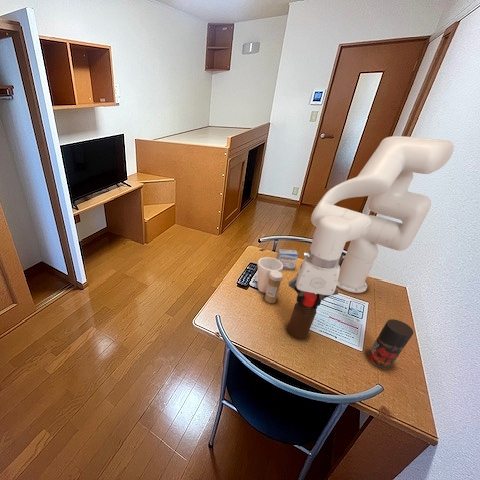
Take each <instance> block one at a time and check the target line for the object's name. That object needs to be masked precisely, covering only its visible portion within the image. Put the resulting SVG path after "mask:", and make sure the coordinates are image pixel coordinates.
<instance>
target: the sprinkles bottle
mask: <svg viewBox="0 0 480 480" xmlns="http://www.w3.org/2000/svg"><path fill="white" fill-rule="evenodd" d="M282 279H283V273H282V272H279V271H271V272H270V274H269V281H268V285H267V289H266V293H264V298H263V299H264V301H266V302H267V303H270V304H275V303H276V302H277V297H278V294H279V290H280V286H281V282H282Z"/></svg>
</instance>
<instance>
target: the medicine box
mask: <svg viewBox="0 0 480 480" xmlns="http://www.w3.org/2000/svg"><path fill="white" fill-rule="evenodd" d="M298 257H299V253H298V251H297V250H296V249H288V248H286V249H285V248H278V249H277V253H276V257H275V259H277V260H279V261H280V262H281V263H282V264H283V269H282V270H295V268H296V265H297V261H298V259H299V258H298Z"/></svg>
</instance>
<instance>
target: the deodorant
mask: <svg viewBox="0 0 480 480" xmlns="http://www.w3.org/2000/svg"><path fill="white" fill-rule="evenodd" d="M413 335H414V330H413V328H412V327H411V326H410V325H408V324H407V323H406V322H403V321H401V320H400V319H399V320H398V319H394V318H393V319H388V320H386V321H385V324H384V326H383V327H382V329H381V331H380V332H379V334H378V336H377V338H376V340H375V341H374V343H373V344H372V346H371V347H370V349H369V351H368V353H367V359H368V361H370V363H371V364H372V365H373V366H375V367H378V368H380V369H383V370H388V369H390V368H391V367H392V366H393V364H394V363H395V361H396V360H397V358H399V355H400V354H401V353H402V351H403V350H404V348H405V347H406V345H407V344H408V342H409V341H410V340H411V338H412V337H413Z"/></svg>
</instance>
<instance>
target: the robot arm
mask: <svg viewBox="0 0 480 480" xmlns="http://www.w3.org/2000/svg"><path fill="white" fill-rule="evenodd" d="M454 149H455V146H454V143H453V142H452V141H451V140H447V139H439V138H424V137H416V136H404V135H403V136H401V135H393V136H392V135H391V136H387V137H385V138H383V139H382V140H381V142H380V143H379V145H378V146H377V148H376V149H375V151H374V152H373V154H372V155H371V156H370V158H369V159H368V161H367V162H366V163H365V165H364V166H363V168H362V169H361V170H360V172H359V174H358V175H357V176H355V177H353V178H350V179H346V180H345V181H343V182H341V183H338V184H336V185H335V186H333V187H332V188H330V189H328V190H327V192H325V194H323V196H322V197H321V199H320V200H319V201H318V203H317V204H316V206H315V207H314V209H313V211H312V212H311V216H310V222H311V224H312V225H313V226H314V227H316V229H315V231H314V233H313V237H312V241H311V243H310V248H309V249H308V250H307V251H303V252H302V257H304V258H303V260H302V262H301V263H300V265H299V267H298V269H297V272H296V275H295V277H293V278H292V279H291V280H290V281H289V282H288V287H290V288H292V290H293V291H295V292H296V294H297V296H296V303H297V302H298V303H299V306H302V303H303V300H304V293H305V292H310V293H315V294H316V295H317V299H316V302H315V304H314V306H313V307H314V309H316V310H317V309H318V307H320V306H321V303H322V301H324V300H325V299H327V298H329V297H331V296H336V295H339V290H338V288H339V289H341V290H342V291H345V292H348V293H353V294H362V293H364V292H366V291H367V289H368V284H367V282H366V280H367V278H368V277H370V276H371V269H372V268H373V265H374V263H375V261H376V259H377V257H378V254H379V248H378V245H379V246H382V247H385V248H387V249H391V250H395V251H399V252H401V251H405V250H407V249H408V248H409V247H410V246H411V245H412V243H413V241H414V239H415V237H416V235H417V234H418V232H419V231H420V228H421V226H422V225H423V222H424V221H425V219H426V217H427V216H428V213H429V211H430V209H431V206H432V200H431V198H429V196H427V195H425V194H421V193H416V192H412V191H408V190H409V187H410V185H411V183H412V180H413V179H414V173H415V174H420V175H430V174H432V173H434V172H436V171H439V170H440V169H442V168H444V167H445V165H446V164H447V163H448V162H449V161H450V159H451V157H452V155H453V152H454ZM361 197H370V199H369V202H368V209H369V210H370V211H371V212H372V213H375V214H378V215H381V216H384V217H388V218H392V219H396V220H399V221H401V222H399V221H395V220H392V219H388V218H384V217H381V216H377V215H373V214H366V213H363V212H359V211H356V210H352V209H349V208H346V207H342V206H338V205H335V204H337V203H339V202H340V201H343V200H347V199H351V198H361ZM347 242H349V245H348V248H347V250H346V253H345V255H344V258H343V260H342V263H341V265H340V264H339V262H340V259H341V257H342V253H343V251H344V249H345V245H346V243H347Z"/></svg>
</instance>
